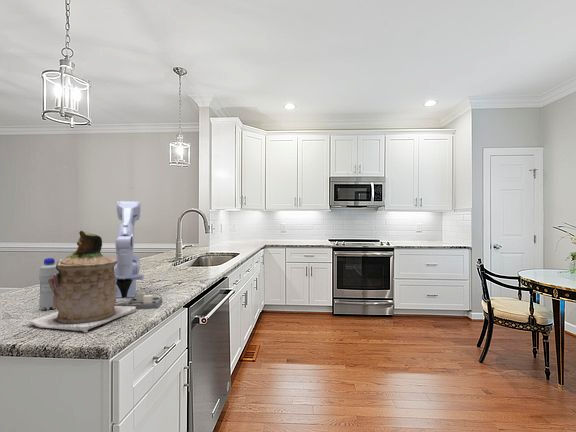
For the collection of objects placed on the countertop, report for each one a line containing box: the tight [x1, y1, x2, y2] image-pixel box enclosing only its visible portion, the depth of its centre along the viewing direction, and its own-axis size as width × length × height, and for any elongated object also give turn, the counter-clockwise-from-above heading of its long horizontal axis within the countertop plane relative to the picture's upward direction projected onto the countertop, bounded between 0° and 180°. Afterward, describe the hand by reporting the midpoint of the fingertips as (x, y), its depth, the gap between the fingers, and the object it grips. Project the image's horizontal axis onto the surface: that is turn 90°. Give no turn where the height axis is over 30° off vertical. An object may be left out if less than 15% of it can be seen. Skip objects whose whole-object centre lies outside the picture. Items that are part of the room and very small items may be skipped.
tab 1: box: [136, 291, 147, 300], centre depth 132 cm, size 3×2×4 cm
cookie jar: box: [26, 230, 137, 333], centre depth 113 cm, size 25×25×32 cm
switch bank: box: [125, 295, 163, 310], centre depth 129 cm, size 12×10×2 cm
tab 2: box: [143, 294, 154, 304], centre depth 127 cm, size 3×2×4 cm
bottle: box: [38, 257, 59, 311], centre depth 124 cm, size 7×7×20 cm
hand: (124, 297), depth 130 cm, fingers closed
